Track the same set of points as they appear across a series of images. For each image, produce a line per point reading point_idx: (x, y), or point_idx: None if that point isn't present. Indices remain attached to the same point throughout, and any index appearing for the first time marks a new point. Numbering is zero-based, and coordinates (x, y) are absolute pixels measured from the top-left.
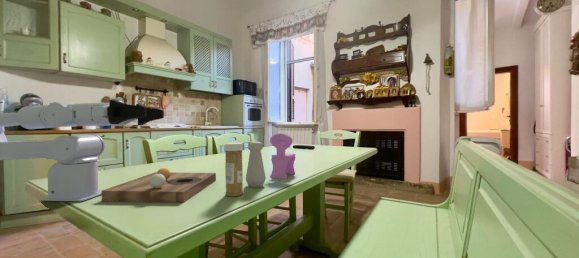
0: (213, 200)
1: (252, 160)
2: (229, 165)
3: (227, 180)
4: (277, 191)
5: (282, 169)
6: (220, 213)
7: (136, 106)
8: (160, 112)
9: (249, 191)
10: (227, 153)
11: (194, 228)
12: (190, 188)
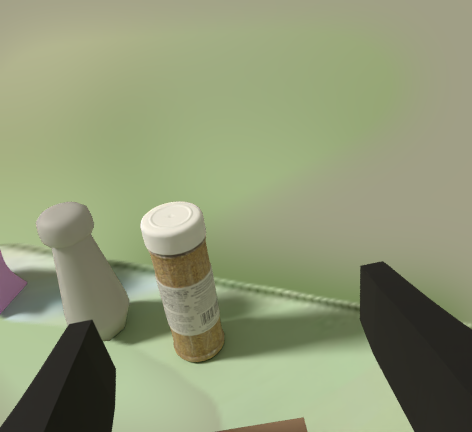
0: (263, 368)
1: (101, 262)
2: (211, 274)
3: (214, 317)
4: None
5: (2, 273)
6: (348, 313)
7: (429, 301)
8: (97, 350)
9: (165, 321)
10: (200, 249)
11: None
12: (251, 427)
